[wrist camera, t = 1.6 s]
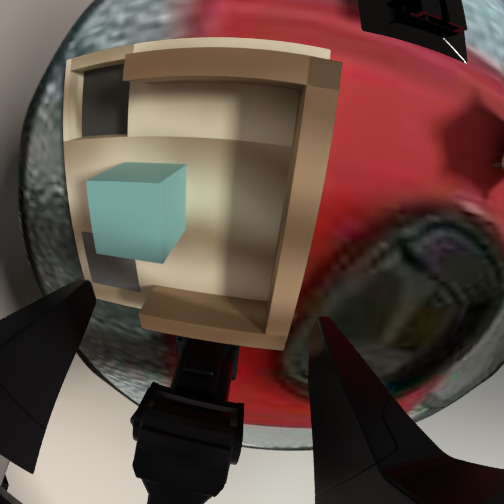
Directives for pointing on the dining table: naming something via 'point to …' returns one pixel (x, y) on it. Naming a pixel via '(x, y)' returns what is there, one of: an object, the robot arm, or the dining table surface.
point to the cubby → (296, 195)
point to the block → (138, 210)
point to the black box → (419, 23)
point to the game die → (502, 164)
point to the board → (198, 168)
